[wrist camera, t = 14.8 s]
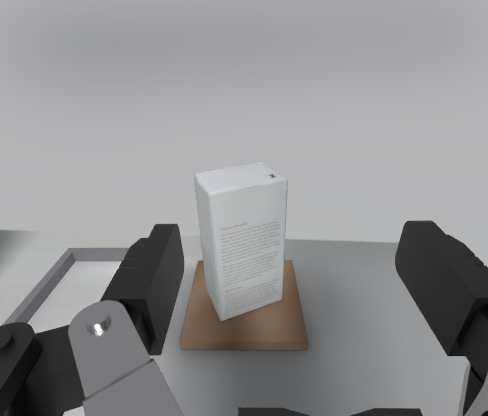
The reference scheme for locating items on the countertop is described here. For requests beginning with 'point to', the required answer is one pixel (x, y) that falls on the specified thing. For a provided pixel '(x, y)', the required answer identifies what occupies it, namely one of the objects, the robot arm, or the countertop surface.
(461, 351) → the robot arm
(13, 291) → the countertop surface
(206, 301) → the walnut board
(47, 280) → the grey flat rectangular frame
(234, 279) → the skincare box
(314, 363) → the countertop surface
